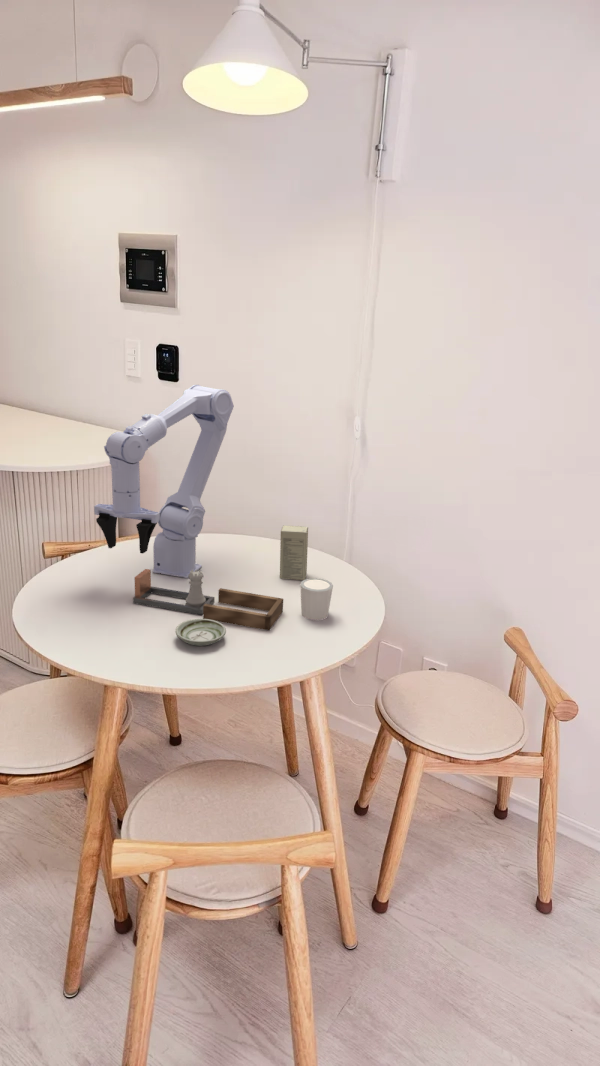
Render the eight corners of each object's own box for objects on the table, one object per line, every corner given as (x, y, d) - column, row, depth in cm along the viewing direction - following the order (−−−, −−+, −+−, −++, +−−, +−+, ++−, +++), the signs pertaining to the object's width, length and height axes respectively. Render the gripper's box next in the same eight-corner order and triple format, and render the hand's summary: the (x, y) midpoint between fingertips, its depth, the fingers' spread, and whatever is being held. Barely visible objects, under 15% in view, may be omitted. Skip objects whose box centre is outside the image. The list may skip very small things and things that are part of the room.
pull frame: (133, 602, 148) (132, 578, 147) (147, 590, 155) (147, 567, 153) (202, 615, 145) (202, 590, 143) (214, 602, 151) (214, 578, 149)
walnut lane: (203, 618, 143) (203, 605, 142) (220, 600, 152) (220, 588, 151) (269, 630, 140) (269, 617, 139) (282, 611, 149) (283, 598, 148)
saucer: (211, 657, 129) (211, 645, 129) (165, 645, 132) (165, 634, 132) (234, 635, 138) (234, 624, 137) (190, 625, 141) (190, 614, 140)
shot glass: (314, 604, 153) (316, 575, 151) (337, 615, 148) (339, 585, 146) (291, 613, 148) (293, 582, 146) (314, 624, 144) (317, 593, 141)
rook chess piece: (210, 607, 149) (210, 572, 146) (192, 612, 146) (192, 577, 143) (198, 600, 152) (199, 566, 149) (181, 605, 149) (181, 570, 146)
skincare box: (306, 574, 169) (309, 526, 165) (305, 581, 165) (308, 532, 161) (280, 571, 169) (282, 524, 165) (278, 578, 165) (280, 530, 161)
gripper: (85, 489, 146) (88, 550, 150) (148, 498, 142) (149, 560, 147) (102, 481, 152) (105, 540, 157) (163, 490, 149) (164, 549, 153)
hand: (127, 549), depth 152 cm, fingers open, 7 cm apart
